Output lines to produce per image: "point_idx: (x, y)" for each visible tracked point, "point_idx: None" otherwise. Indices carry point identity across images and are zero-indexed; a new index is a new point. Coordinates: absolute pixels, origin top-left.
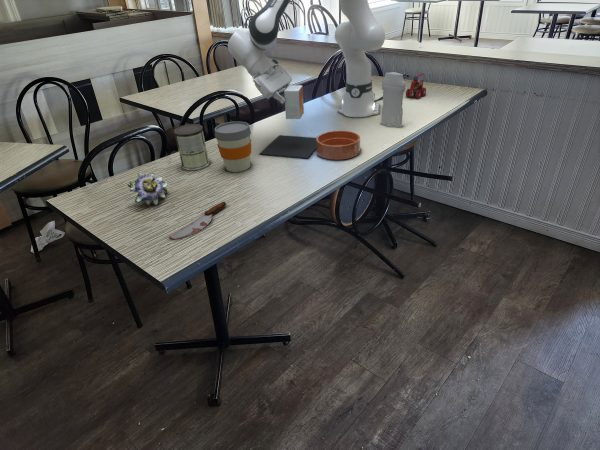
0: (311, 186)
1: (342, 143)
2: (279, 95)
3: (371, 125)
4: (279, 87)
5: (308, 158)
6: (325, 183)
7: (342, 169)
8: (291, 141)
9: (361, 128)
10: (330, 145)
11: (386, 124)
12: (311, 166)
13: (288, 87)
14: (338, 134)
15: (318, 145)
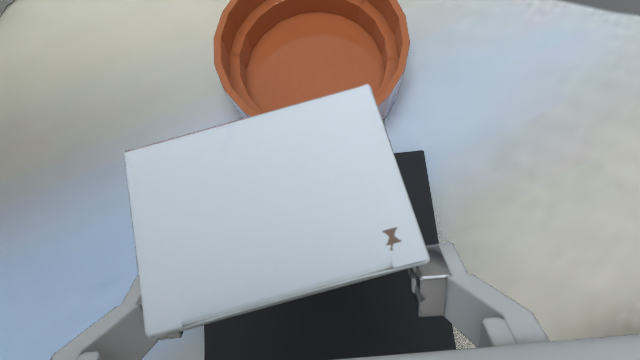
0: (627, 42)
1: (245, 79)
2: (498, 295)
3: (9, 57)
4: (418, 356)
5: (417, 152)
6: (583, 11)
7: (457, 4)
8: (273, 309)
9: (48, 81)
10: (403, 35)
11: (3, 3)
12: (479, 110)
13: (253, 285)
14: (229, 79)
15: (387, 102)
